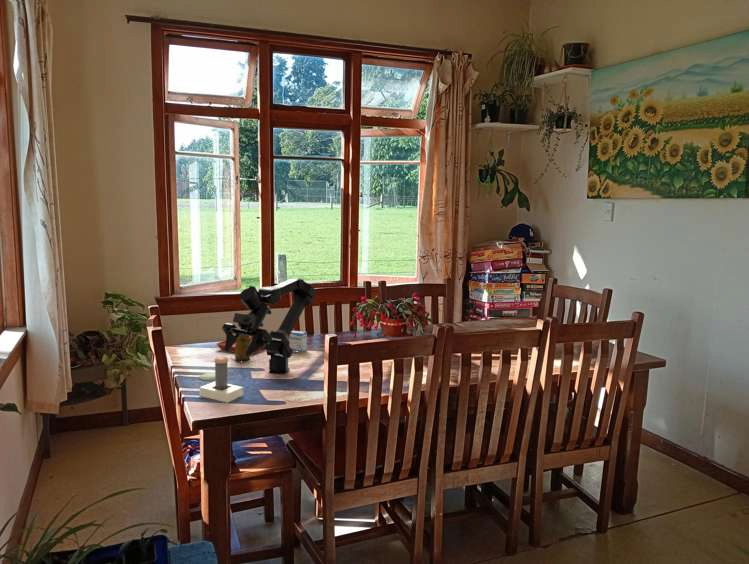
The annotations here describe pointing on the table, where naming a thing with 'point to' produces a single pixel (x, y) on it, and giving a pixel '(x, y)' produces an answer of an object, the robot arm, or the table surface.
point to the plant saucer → (222, 346)
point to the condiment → (242, 349)
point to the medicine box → (298, 341)
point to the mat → (207, 376)
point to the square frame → (221, 392)
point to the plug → (221, 373)
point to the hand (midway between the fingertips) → (235, 353)
